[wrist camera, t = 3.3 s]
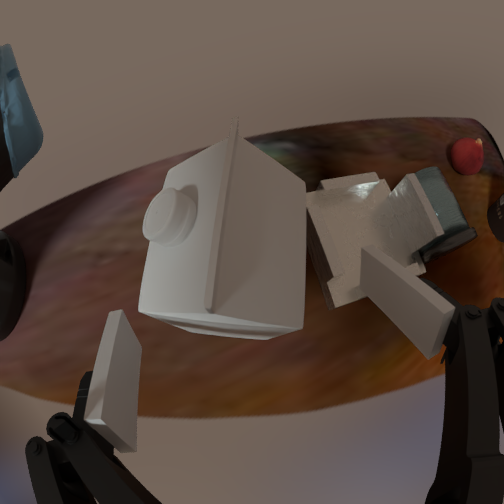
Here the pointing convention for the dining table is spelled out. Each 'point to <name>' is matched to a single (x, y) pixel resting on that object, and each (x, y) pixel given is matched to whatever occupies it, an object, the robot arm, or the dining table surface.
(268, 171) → the milk carton
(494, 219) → the coffee mug
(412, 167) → the dining table surface
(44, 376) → the dining table surface
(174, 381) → the dining table surface
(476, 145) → the onion
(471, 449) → the robot arm
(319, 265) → the motor
